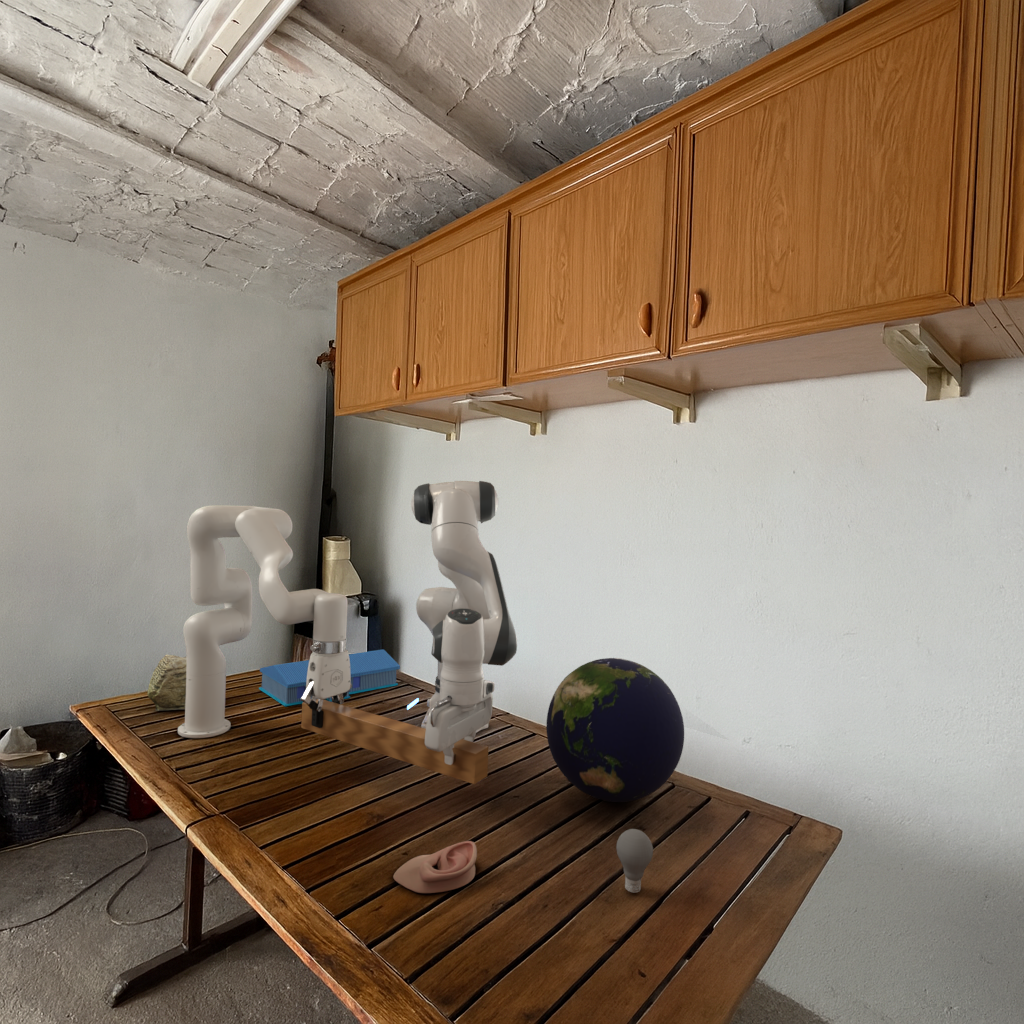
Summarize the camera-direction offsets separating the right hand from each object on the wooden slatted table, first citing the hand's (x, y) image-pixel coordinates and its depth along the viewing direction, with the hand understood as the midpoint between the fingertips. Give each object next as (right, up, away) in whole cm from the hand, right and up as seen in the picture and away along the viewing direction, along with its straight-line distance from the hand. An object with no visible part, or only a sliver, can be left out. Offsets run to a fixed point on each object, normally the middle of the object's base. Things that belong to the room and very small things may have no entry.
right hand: (458, 757), depth 129 cm
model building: (-48, -8, +79) cm, 93 cm away
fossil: (-85, -7, +56) cm, 102 cm away
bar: (-17, -2, +10) cm, 20 cm away
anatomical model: (-2, -12, -21) cm, 24 cm away
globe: (+33, -13, +11) cm, 37 cm away
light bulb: (+31, -13, -24) cm, 41 cm away
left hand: (-33, 0, +20) cm, 39 cm away
